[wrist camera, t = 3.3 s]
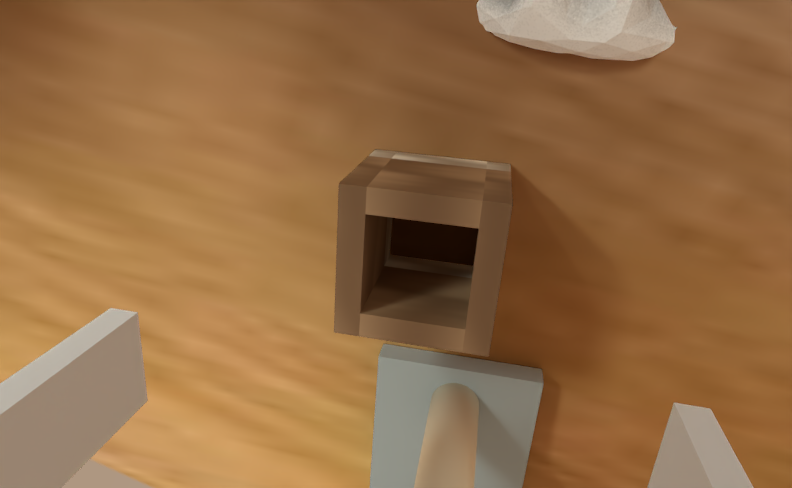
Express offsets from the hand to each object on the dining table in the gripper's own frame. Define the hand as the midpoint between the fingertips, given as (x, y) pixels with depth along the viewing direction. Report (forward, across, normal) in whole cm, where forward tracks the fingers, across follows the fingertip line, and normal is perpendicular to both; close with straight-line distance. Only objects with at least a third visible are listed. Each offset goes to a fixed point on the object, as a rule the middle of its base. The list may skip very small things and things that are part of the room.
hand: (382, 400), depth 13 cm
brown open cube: (+13, 0, 0) cm, 13 cm away
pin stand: (+13, +2, -13) cm, 18 cm away
